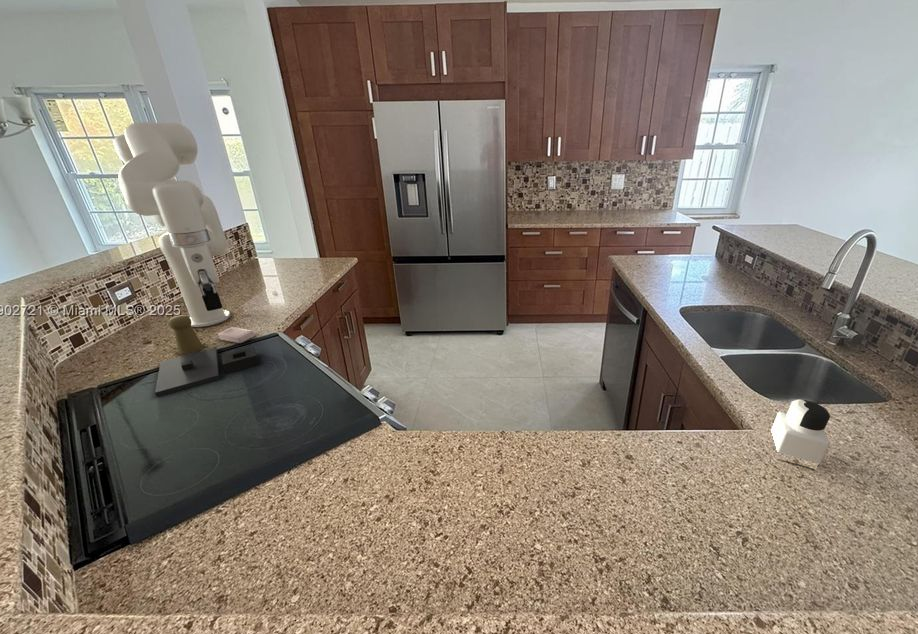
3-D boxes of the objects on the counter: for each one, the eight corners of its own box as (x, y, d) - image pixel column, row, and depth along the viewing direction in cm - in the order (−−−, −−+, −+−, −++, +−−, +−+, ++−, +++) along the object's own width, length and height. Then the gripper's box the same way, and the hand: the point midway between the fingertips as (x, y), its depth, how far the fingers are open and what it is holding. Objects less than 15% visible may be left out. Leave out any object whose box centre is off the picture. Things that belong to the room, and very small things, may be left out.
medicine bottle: (807, 446, 78) (828, 401, 73) (817, 471, 72) (841, 423, 67) (767, 436, 81) (785, 391, 76) (773, 459, 75) (793, 412, 70)
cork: (208, 344, 116) (196, 313, 111) (191, 354, 110) (178, 322, 106) (190, 343, 116) (177, 312, 112) (173, 353, 111) (159, 320, 106)
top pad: (225, 363, 106) (221, 354, 105) (257, 355, 110) (254, 346, 109) (226, 373, 102) (222, 364, 100) (259, 364, 106) (256, 355, 105)
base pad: (162, 364, 105) (158, 356, 104) (217, 351, 112) (214, 342, 111) (156, 396, 92) (152, 387, 91) (219, 378, 99) (216, 369, 98)
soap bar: (240, 344, 116) (238, 337, 115) (219, 340, 119) (216, 333, 118) (255, 336, 121) (253, 329, 120) (234, 332, 123) (232, 326, 122)
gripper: (212, 242, 85) (234, 310, 92) (206, 230, 97) (226, 291, 104) (170, 247, 81) (197, 318, 88) (169, 234, 93) (193, 297, 100)
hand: (213, 303), depth 96 cm, fingers open, 9 cm apart
